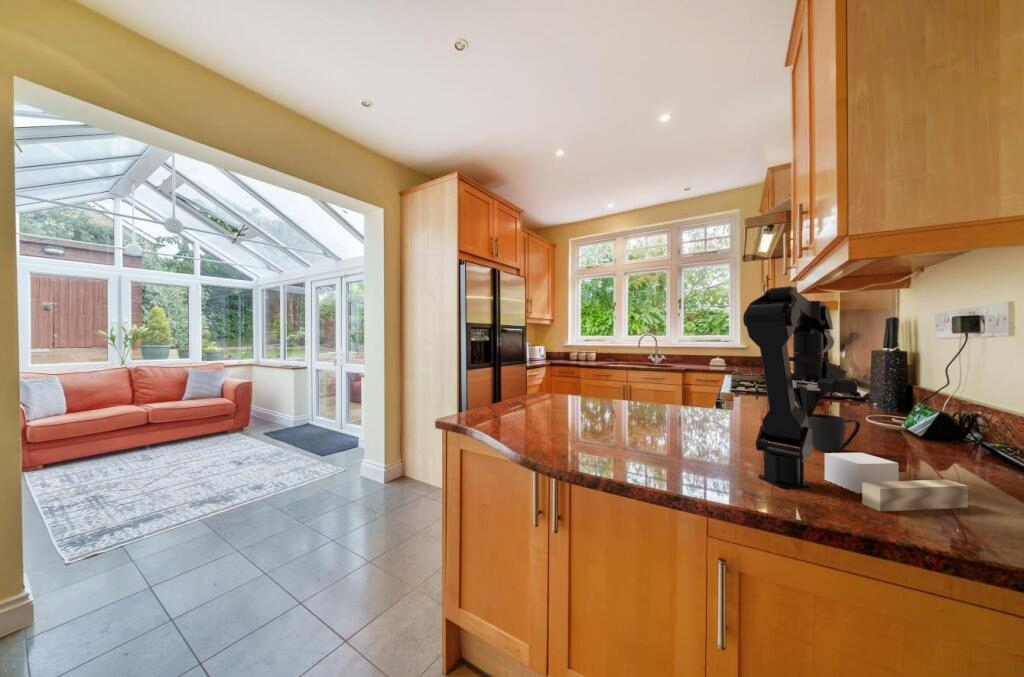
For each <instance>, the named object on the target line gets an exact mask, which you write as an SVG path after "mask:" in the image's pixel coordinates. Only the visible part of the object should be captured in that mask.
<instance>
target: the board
mask: <svg viewBox="0 0 1024 677" xmlns="http://www.w3.org/2000/svg"><path fill="white" fill-rule="evenodd" d="M968 491H969V490H968V485H966V484H962V483H959V482H956V481H954V480H953V481H952V480H949V479H925V480H923V479H922V480H921V479H920V480H898V481H890V482H862V493H861V496H862V498H861V499H862V500H861V504H862V505H864V506H867V507H868V508H871V509H873V510H876V511H879V512H896V511H897V512H898V511H918V510H919V511H921V510H943V509H966V508H967V509H968V507H969V505H968V504H969V502H968V499H969V498H968V497H969V496H968V495H969V494H968Z"/></svg>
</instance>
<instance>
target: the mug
mask: <svg viewBox="0 0 1024 677" xmlns="http://www.w3.org/2000/svg"><path fill="white" fill-rule="evenodd" d="M807 420H808V424H809V427H810V428H811V429H812V443H811V447H812V449H813V448H814V449H817V450H820V451H819V452H821V451H825V452H824V453H826V452H834V453H838V452H839V453H840V451H841V450H844V449H846V448H847V446H849V444H850V443H851V442H852V441H853V440H854V438H855V437H856V435H857V434H858V433H859V431H860V429H861V422H860V421H859V420H856V419H846V418H845V417H842V416H837V415H831V414H826V413H825V414H824V413H813V414H812V417H807ZM851 422H853V423H854V424H855V426H854V428H853V430H852V432H851V434H849V436H848V437H847V438H846V440H845V435H846V423H851ZM844 440H845V441H844ZM814 449H813V450H814ZM817 450H816V451H817Z"/></svg>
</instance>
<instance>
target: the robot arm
mask: <svg viewBox="0 0 1024 677" xmlns="http://www.w3.org/2000/svg"><path fill="white" fill-rule="evenodd" d="M742 317H743V318H742V319H743V321H742V322H743V324H744V326H745V327H746V331H747V335H748V338H749V339H750V340H751V341H752V342H753V343H754V344H755V345H756V346H757V347H758V348H759V351H760V358H761V363H762V364H761V365H762V369H763V375H764V376H763V377H764V383H765V389H766V396H767V403H768V409H769V410H768V411H767V413H766V414H765V416H764V417H763V419H762V421H761V425H760V427H759V430H758V434H757V437H756V440H755V448H756V451H757V452H758V451H761V452H763V473H762V474H761V473H758V478H759V479H763V480H764V481H766V482H769V483H770V484H773V485H775V486H777V487H779V488H783V489H787V488H791V489H792V488H809V487H810V484H809V483H807V482H805V478H804V476H805V475H804V466H805V465H804V461H805V460H806V459H808V458H810V457H811V452H812V429H811V428H810V427H809V424H808V420H807V417H812V414H814V412H815V410H816V408H817V406H818V403H819V402H820V400H821V398H822V397H823V396H825V395H826V394H828V393H857V392H858V383H857V382H856V381H855V380H854V379H851V378H846V376H847V373H848V372H847V370H845V369H842V368H840V367H837V366H835V365H831V364H830V360H829V358H828V357H824V353H826V352H829V351H830V350H831V349H832V348H833V346H834V345H835V339H834V338H833V336H832V335H831V334H830V333H829V332H827V331H828V330H829V331H831V330H833V329H834V326H833V321H832V316H831V312H830V307H829V305H826V303H825V302H824V301H822V300H809V299H807V298H806V297H805V296H803V295H802V294H801V293H799V292H798V289H797V287H796V286H791V285H789V286H787V285H786V286H779V287H770V288H768V289H766V291H765V292H764V293H763V295H761V296H759V297H758V298H756V299H754V300H752V301H751V302H750V303H749V305H748V306H747V307H746V310H745V311H744V312H743V316H742ZM826 330H827V331H826ZM791 337H792V356H790V355H789V349H788V342H789V340H790V338H791ZM791 362H792V368H791V364H790V363H791ZM796 404H797V405H796Z"/></svg>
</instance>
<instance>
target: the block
mask: <svg viewBox="0 0 1024 677" xmlns="http://www.w3.org/2000/svg"><path fill="white" fill-rule="evenodd" d="M826 480H827V482H829V481H830V482H829V483H831V482H832V484H834V483H835V484H834V485H836V484H837V486H839V487H841V486H842V488H844V489H846V488H847V489H846V490H848V489H849V490H848V491H851V492H853V491H854V493H856V494H862V482H890V481H899V462H896V461H892V460H889V459H886V458H882V457H878V456H875V455H871V454H868V453H865V452H839V453H826V452H824V481H826Z"/></svg>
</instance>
